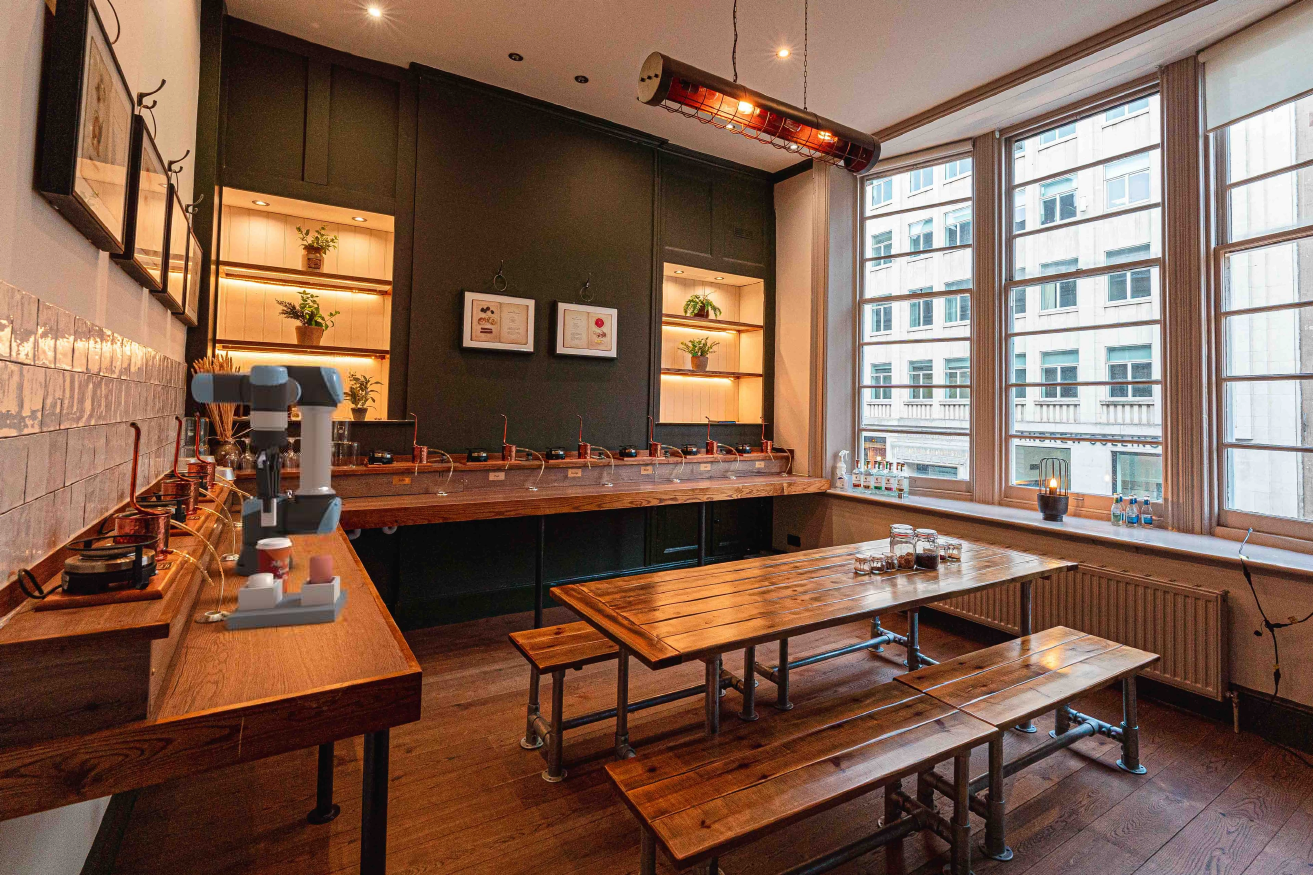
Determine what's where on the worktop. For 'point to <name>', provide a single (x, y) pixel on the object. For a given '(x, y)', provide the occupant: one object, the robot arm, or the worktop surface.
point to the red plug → (321, 569)
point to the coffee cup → (275, 558)
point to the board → (287, 605)
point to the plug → (260, 580)
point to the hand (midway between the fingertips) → (268, 525)
